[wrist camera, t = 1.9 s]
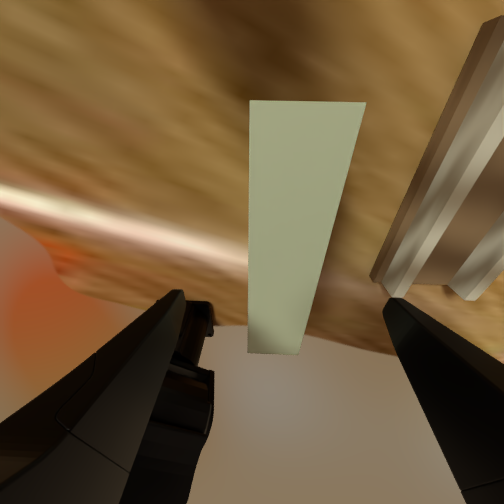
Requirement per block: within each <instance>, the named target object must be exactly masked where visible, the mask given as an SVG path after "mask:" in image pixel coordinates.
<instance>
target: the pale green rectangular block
mask: <svg viewBox="0 0 504 504" xmlns="http://www.w3.org/2000/svg"><path fill="white" fill-rule="evenodd" d="M365 106H366V102H315V101H261V100H250V125H249V246H248V353H261V354H283V355H298V354H299V350H300V347H301V343H302V340H303V336H304V332H305V328H306V325H307V321H308V317H309V314H310V310H311V306H312V303H313V299H314V295H315V291H316V288H317V284H318V280H319V277H320V273H321V269H322V265H323V262H324V258H325V254H326V251H327V247H328V243H329V240H330V236H331V232H332V228H333V225H334V221H335V217H336V214H337V210H338V206H339V202H340V199H341V195H342V191H343V188H344V184H345V180H346V177H347V173H348V169H349V165H350V162H351V158H352V154H353V151H354V147H355V143H356V139H357V136H358V132H359V128H360V125H361V121H362V117H363V114H364V110H365Z"/></svg>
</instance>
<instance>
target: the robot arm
mask: <svg viewBox="0 0 504 504" xmlns="http://www.w3.org/2000/svg"><path fill="white" fill-rule="evenodd" d="M382 313H383V317H384V320H385V323H386V326H387V329H388V332H389V335H390V337H391V340H392V343H393V346H394V348H395V351H396V353H397V355H398V358H399V360H400V362H401V364H402V366H403V368H404V370H405V373H406V375H407V377H408V379H409V381H410V383H411V385H412V388H413V390H414V392H415V394H416V396H417V398H418V400H419V403H420V405H421V407H422V409H423V411H424V413H425V415H426V417H427V420H428V422H429V424H430V426H431V428H432V431H433V433H434V435H435V437H436V439H437V441H438V443H439V445H440V447H441V450H442V452H443V454H444V456H445V458H446V460H447V463H448V465H449V467H450V469H451V471H452V473H453V476H454V478H455V480H456V482H457V484H458V486H459V489H460V490H461V493H462V495H463V498H464V500H465V502H466V504H504V364H503V363H501V362H500V361H498V360H497V359H495V358H493V357H492V356H490V355H489V354H487V353H486V352H484V351H483V350H481V349H480V348H478V347H477V346H475V345H473V344H472V343H470V342H469V341H467V340H466V339H464V338H463V337H461V336H460V335H458V334H457V333H455V332H453V331H452V330H450V329H449V328H447V327H446V326H444V325H443V324H441V323H440V322H438V321H436V320H435V319H433V318H432V317H430V316H429V315H427V314H426V313H424V312H423V311H421V310H420V309H418V308H416V307H415V306H413V305H412V304H410V303H409V302H407V301H406V300H404V299H403V298H398V297H391V298H389V300H388V301H387V303H386V305H385V307H384V308H383V311H382ZM213 334H214V329H213V323H212V316H211V309H210V304H209V303H208V302H205V301H186V300H185V296H184V292H183V290H181V289H173V290H171V291H170V292H169V293H167V294H166V295H165V296H164V297H162V298H161V299H160V300H157V301H156V303H155V304H154V305H153V306H151V307H150V308H149V309H148V310H146V311H145V312H144V313H143V314H142V315H140V316H139V317H138V318H137V319H135V320H134V321H133V322H132V323H130V324H129V325H128V326H127V327H126V328H124V329H123V330H122V331H121V332H119V334H117V335H116V336H115V337H113V338H112V339H111V340H110V341H108V342H107V343H106V344H105V345H103V346H102V347H101V348H100V349H99V350H97V351H96V353H93V354H92V355H91V356H90V357H89V358H87V359H86V360H85V361H84V362H82V363H81V364H80V365H79V366H77V367H76V368H75V369H73V370H72V371H71V372H70V373H68V374H67V375H66V376H64V377H63V378H62V379H60V380H59V381H58V382H56V383H55V384H54V385H52V386H51V387H50V388H48V389H47V390H45V391H44V392H43V393H41V394H40V395H38V396H37V397H36V398H34V399H33V400H31V401H30V402H29V403H27V404H26V405H25V406H23V407H22V408H20V409H19V410H18V411H16V412H15V413H13V414H12V415H11V416H9V417H8V418H6V419H5V420H4V421H2V422H1V423H0V504H186V503H187V501H188V497H189V493H190V489H191V484H192V481H193V476H194V473H195V469H196V465H197V462H198V459H199V456H200V453H201V450H202V448H203V446H204V444H205V443H206V440H207V438H208V436H209V433H210V429H211V426H212V421H213V414H214V371H212V370H206V369H203V368H200V367H198V363H199V358H200V355H201V351H202V347H203V343H204V339H205V337H212V336H213Z"/></svg>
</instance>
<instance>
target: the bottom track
mask: <svg viewBox="0 0 504 504" xmlns="http://www.w3.org/2000/svg"><path fill="white" fill-rule="evenodd" d="M503 270H504V16H502V15H501V16H499V17H496V18H494V19H492V20H489V21H487V22H485V23H483V24H482V27H481V29H480V31H479V33H478V35H477V38H476V40H475V42H474V44H473V47H472V49H471V51H470V53H469V55H468V58H467V60H466V62H465V64H464V66H463V69H462V71H461V73H460V75H459V78H458V80H457V82H456V84H455V86H454V89H453V91H452V93H451V95H450V98H449V100H448V102H447V104H446V106H445V109H444V111H443V113H442V115H441V118H440V120H439V122H438V124H437V126H436V129H435V131H434V133H433V135H432V137H431V140H430V142H429V144H428V146H427V149H426V151H425V153H424V155H423V157H422V160H421V162H420V164H419V166H418V169H417V171H416V173H415V175H414V177H413V180H412V182H411V184H410V186H409V189H408V191H407V193H406V195H405V197H404V200H403V202H402V204H401V206H400V209H399V211H398V213H397V215H396V217H395V220H394V222H393V224H392V226H391V228H390V231H389V233H388V235H387V237H386V240H385V242H384V244H383V246H382V248H381V251H380V253H379V255H378V257H377V260H376V262H375V264H374V266H373V268H372V271H371V273H370V275H369V276H370V277H371V279H372V280H373V282H381V283H382V284H383V285H384V287H385V288H386V290H387V291H388V292H389V294H390V295H391V297H398V298H403V297H404V295H405V294H406V292H407V291H408V289H409V287H410V286H411V284H437V285H448V286H449V287H450V288H451V289H452V290H454V291H455V292H456V293H457V294H458V295H459V296H460V297H461V298H462V299H464V300H474V301H475V300H476V299H477V298H478V297H479V296H480V295H481V294H482V293H483V292H484V291H485V290H486V289H487V287H488V286H489V285H490V284H491V283H492V282H493V281H494V280H495V279H496V278H497V277H498V276H499V274H500V273H501V272H502V271H503Z"/></svg>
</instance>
